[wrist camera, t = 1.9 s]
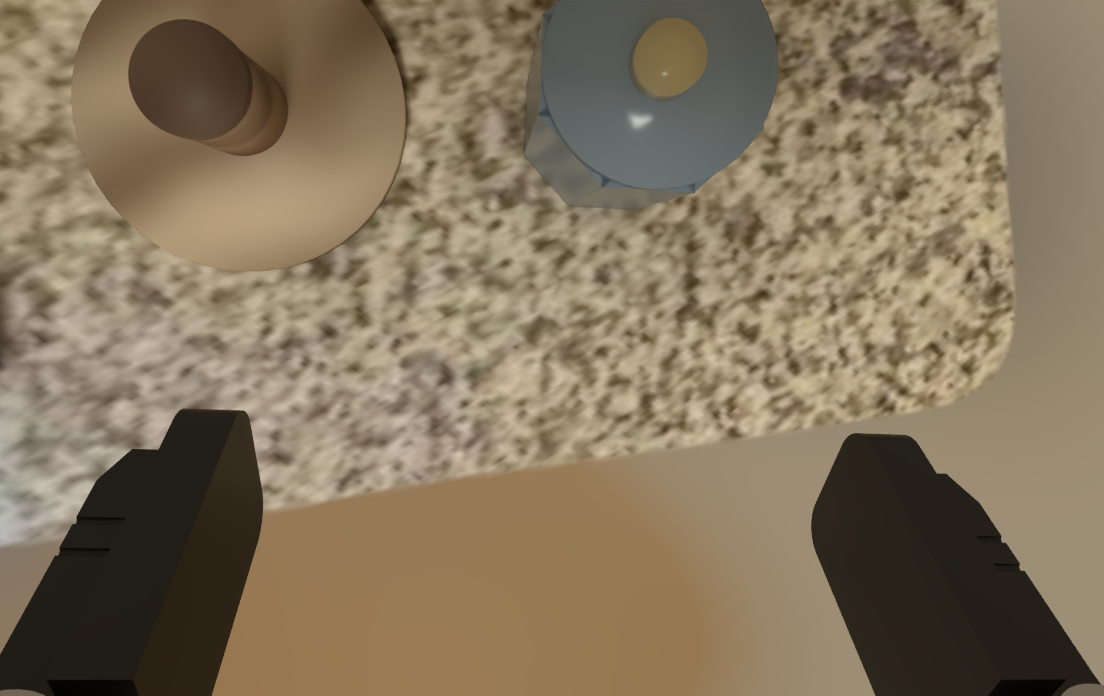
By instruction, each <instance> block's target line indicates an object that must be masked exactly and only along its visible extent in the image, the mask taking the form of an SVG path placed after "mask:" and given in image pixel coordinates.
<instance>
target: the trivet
mask: <svg viewBox="0 0 1104 696" xmlns="http://www.w3.org/2000/svg"><path fill="white" fill-rule="evenodd" d="M177 19H189V20H196V21H199V22H203V23H205V24H208V25H210V26H212V27H214V28H216V29H217V30H219V31H220V32H221V33H223V34H224V35H225V36H226V37H228V38H229V39H230V40H231V41H232V42H233V43H234V44H235V45H236V46H237V47H238V48H239V49H240V50H241V51H242V52H244V53H245V54H246V55H247V56H249V57H250V58H251V59H252V60H254V61H255V62H256V63H257V64H258V65H260V66H261V67H262V68H263V69H265V70H266V71H267V72H268V73H270V74H271V75H272V76H273V77H274V78H275V79H276V81H277V82H278V83H279V85H280V86H281V88H282V90H283V92H284V94H285V97H286V101H287V106H288V118H287V123H286V126H285V129H284V131H283V133H282V135H281V137H280V138H279V140H278V141H277V142H276V143H275V144H274V145H273V146H272V147H270V148H269V149H267V150H266V151H264V152H261V153H259V154H256V155H251V156H236V155H232V154H228V153H225V152H223V151H220V150H217V149H215V148H212V147H209V146H207V145H204V144H201V143H199V142H196V141H193V140H188V139H184V138H181V137H178V136H175V135H172V134H170V133H167V132H165V131H163V130H161V129H160V128H158V127H157V126H155V125H154V124H152V123H151V122H150V121H149V120H148V119H147V118H146V117H145V116H144V115H143V114H142V112H141V111H140V109H139V108H138V106H137V105H136V103H135V101H134V99H133V96H132V94H131V91H130V86H129V79H128V67H129V62H130V58H131V55H132V52H133V50H134V48H135V46H136V44H137V43H138V42H139V40H140V39H141V38H142V37H143V36H144V34H146V33H147V32H148V31H149V30H150V29H152V28H154V27H155V26H157V25H159V24H161V23H164V22H167V21H171V20H177ZM71 101H72V112H73V121H74V126H75V130H76V135H77V139H78V143H79V146H80V149H81V151H82V154H83V157H84V159H85V162H86V165H87V166H88V168H89V170H90V172H91V174H92V176H93V178H94V180H95V182H96V184H97V185H98V187H99V188H100V190H101V191H102V193H103V194H104V195H105V197H106V198H107V200H108V201H109V203H110V204H111V205H112V206H113V207H114V208H115V209H116V210H117V212H118V213H119V214H120V215H121V216H122V217H123V218H124V219H125V220H126V221H127V222H128V223H129V224H130V225H131V226H133V227H134V228H135V229H136V230H137V231H138V232H139V233H140V234H142V235H143V236H145V237H146V238H148V239H149V240H151V241H152V242H153V243H155V244H156V245H158V246H159V247H161V248H163V249H165V250H167V251H169V252H171V253H173V254H175V255H177V256H179V257H181V258H184V259H187V260H189V261H192V262H195V263H197V264H201V265H205V266H209V267H213V268H217V269H223V270H233V271H268V270H275V269H282V268H288V267H292V266H295V265H299V264H302V263H306V262H309V261H311V260H313V259H316V258H318V257H320V256H323V255H325V254H327V253H329V252H330V251H332V250H333V249H335V248H337V247H338V246H340V245H342V244H343V243H345V242H346V241H347V240H348V239H350V238H351V237H352V236H353V235H355V234H356V233H357V232H358V231H359V230H360V229H361V228H362V227H363V226H364V225H365V224H366V223H367V222H368V221H369V220H370V219H371V218H372V216H373V215H374V214H375V212H376V211H377V209H378V208H379V207H380V205H381V204H382V202H383V201H384V200H385V198H386V196H387V194H388V192H389V190H390V188H391V186H392V184H393V182H394V180H395V177H396V174H397V172H398V169H399V166H400V163H401V159H402V154H403V150H404V145H405V137H406V126H407V117H406V100H405V94H404V88H403V82H402V78H401V75H400V72H399V69H398V65H397V62H396V59H395V57H394V55H393V53H392V50H391V48H390V46H389V44H388V41H387V39H386V37H385V35H384V33H383V32H382V30H381V29H380V27H379V25H378V24H377V22H376V20H375V19H374V17H373V15H372V14H371V13H370V12H369V10H368V9H367V8H366V7H365V5H364V4H363V3H362V1H361V0H102V1H101V2H100V4H99V5H98V7H97V8H96V10H95V11H94V13H93V14H92V16H91V18H90V20H89V22H88V24H87V26H86V28H85V30H84V32H83V35H82V38H81V41H80V44H79V47H78V50H77V53H76V58H75V63H74V69H73V75H72V93H71Z"/></svg>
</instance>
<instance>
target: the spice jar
mask: <svg viewBox="0 0 1104 696" xmlns="http://www.w3.org/2000/svg"><path fill="white" fill-rule="evenodd" d="M128 79H129V86H130V91H131V94H132V96H133V99H134V101H135V103H136V105H137V106H138V108H139V109H140V111H141V112H142V114H143V115H144V116H145V117H146V118H147V119H148V120H149V121H150V122H151V123H152V124H154V125H155V126H157V127H158V128H160V129H161V130H163V131H165V132H167V133H170V134H172V135H175V136H178V137H181V138H184V139H188V140H193V141H196V142H199V143H201V144H204V145H207V146H209V147H212V148H215V149H217V150H220V151H223V152H225V153H228V154H232V155H236V156H251V155H256V154H259V153H261V152H264V151H266V150H267V149H269V148H270V147H272V146H273V145H274V144H275V143H276V142H277V141H278V140H279V138H280V137H281V135H282V133H283V131H284V129H285V126H286V123H287V118H288V106H287V101H286V97H285V94H284V92H283V90H282V88H281V86H280V85H279V83H278V82H277V81H276V79H275V78H274V77H273V76H272V75H271V74H270V73H268V72H267V71H266V70H265V69H263V68H262V67H261V66H260V65H258V64H257V63H256V62H255V61H254V60H252V59H251V58H250V57H249V56H247V55H246V54H245V53H244V52H242V51H241V50H240V49H239V48H238V47H237V46H236V45H235V44H234V43H233V42H232V41H231V40H230V39H229V38H228V37H226V36H225V35H224V34H223V33H221V32H220V31H219V30H217V29H216V28H214V27H212V26H210V25H208V24H205V23H203V22H199V21H196V20H189V19H177V20H171V21H167V22H164V23H161V24H159V25H157V26H155V27H154V28H152V29H150V30H149V31H148V32H147V33H146V34H144V36H143V37H142V38H141V39H140V40H139V42H138V43H137V44H136V46H135V48H134V50H133V52H132V55H131V58H130V62H129V67H128Z"/></svg>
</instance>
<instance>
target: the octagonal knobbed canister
mask: <svg viewBox="0 0 1104 696" xmlns="http://www.w3.org/2000/svg"><path fill="white" fill-rule="evenodd" d="M777 76H778V53H777V44H776V39H775V34H774V30H773V26H772V23H771V21H770V18H769V15H768V13H767V10H766V8H765V7H764V5H763V3H762V1H761V0H559V1H558V2H557V3H555V4H554V5H553V6H552V7H551V8H550V9H549V10H548V11H547V12H546V13H545V14H543V16H542V20H541V24H540V29H539V33H538V37H537V42H536V46H535V50H534V55H533V59H532V63H531V67H530V72H529V76H528V80H527V85H526V111H525V135H524V154H523V155H524V156H525V158H526V159H527V160H528V161H529V162H530V163H531V164H532V166H533V167H534V168H535V169H536V170H537V171H538V172H539V173H540V175H541V176H542V177H543V178H544V179H545V180H546V181H547V182H548V184H549V185H550V186H551V187H552V188H553V189H554V190H555V192H556V193H557V194H558V195H559V196H560V197H561V198H562V199H563V201H564V202H565V203H566V204H567V205H568V206H577V207H595V208H614V209H633V210H635V209H638V208H642V207H646V206H649V205H653V204H656V203H660V202H664V201H667V200H671V199H674V198H678V197H682V196H685V195H689V194H692V193H695V191H696V190H698V189H699V188H700V187H701V186H702V185H703V184H704V183H705V182H706V181H707V180H708V179H710V178H711V177H712V176H713V175H714V174H715V173H717V172H719V171H720V170H722V169H724V168H725V167H727V166H728V165H729V164H730V163H732V162H733V161H734V160H735V159H737V158H738V157H739V156H740V155H741V154H742V153H743V152H744V151H745V149H746V148H747V147H748V146H749V145H750V144H751V142H752V141H753V140H754V138H755V137H756V136H757V135H758V134H759V133H760V132H761V131H762V130H763V129H764V128H763V127H764V122H765V120H766V118H767V115H768V113H769V110H770V108H771V105H772V101H773V98H774V94H775V90H776V83H777Z"/></svg>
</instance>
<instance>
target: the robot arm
mask: <svg viewBox="0 0 1104 696" xmlns="http://www.w3.org/2000/svg"><path fill="white" fill-rule="evenodd" d="M262 514H263V494H262V487H261V482H260V476H259V470H258V465H257V459H256V453H255V447H254V442H253V436H252V430H251V425H250V420H249V417H248V415H247V413H246V412H245V411H239V410H209V409H181V410H180V411H179V412H178V413H177V414H176V416H175V417H174V419H173V421H172V423H171V425H170V427H169V429H168V431H167V433H166V436H165V438H164V440H163V442H162V444H161V446H160V448H159V450H149V449H132V450H131V451H130V452H128V453H127V454H126V455H125V456H124V457H123V458H122V459H120V460H119V461H118V462H117V463H116V464H115V465H114V466H112V467H111V468H110V469H109V470H108V471H107V472H106V473H104V474H103V475H102V476H101V477H100V478H99V479H98V480H97V481H96V483H95V484H94V486H93V488H92V490H91V492H90V493H89V495H88V497H87V499H86V501H85V502H84V504H83V506H82V508H81V510H80V512H79V513H78V515H77V522H76V524H72V526H71V528H70V530H69V531H68V533H67V535H66V537H65V539H64V540H63V542H62V544H61V546H60V552H59V555H58V556H55V557H54V558H53V560H52V562H51V564H50V566H49V568H48V569H47V571H46V573H45V575H44V577H43V578H42V580H41V582H40V584H39V586H38V587H37V589H36V591H35V593H34V595H33V596H32V598H31V600H30V602H29V604H28V605H27V607H26V609H25V611H24V613H23V615H22V616H21V618H20V620H19V622H18V624H17V626H16V627H15V629H14V631H13V633H12V634H11V636H10V638H9V640H8V642H7V644H6V645H5V647H4V649H3V651H2V652H1V654H0V696H212V692H213V689H214V686H215V682H216V679H217V676H218V672H219V669H220V666H221V663H222V659H223V656H224V653H225V649H226V646H227V643H228V639H229V636H230V633H231V629H232V626H233V623H234V619H235V616H236V613H237V610H238V606H239V603H240V600H241V596H242V593H243V589H244V586H245V583H246V579H247V576H248V573H249V570H250V566H251V563H252V559H253V556H254V553H255V549H256V546H257V543H258V539H259V535H260V530H261V524H262ZM811 531H812V539H813V544H814V548H815V551H816V554H817V556H818V558H819V561H820V563H821V566H822V568H823V571H824V573H825V575H826V578H827V580H828V582H829V585H830V587H831V590H832V592H833V595H834V597H835V599H836V602H837V604H838V607H839V609H840V611H841V614H842V616H843V619H844V621H845V623H846V626H847V628H848V631H849V633H850V636H851V638H852V640H853V643H854V645H855V648H856V650H857V652H858V655H859V657H860V660H861V662H862V664H863V667H864V669H865V671H866V674H867V676H868V679H869V681H870V684H871V686H872V688H873V691H874V693H875V696H1104V686H1103V685H1101V684H1100V682H1099V681H1098V680H1097V678H1096V677H1095V676H1094V674H1093V673H1092V671H1091V670H1090V668H1089V667H1088V666H1087V664H1086V662H1085V661H1084V659H1083V658H1082V656H1081V655H1080V653H1079V652H1078V651H1077V649H1076V647H1075V646H1074V645H1073V643H1072V642H1071V640H1070V638H1069V637H1068V635H1067V634H1066V632H1065V631H1064V630H1063V628H1062V626H1061V625H1060V623H1059V622H1058V620H1057V619H1056V618H1055V616H1054V614H1053V613H1052V611H1051V610H1050V608H1049V607H1048V605H1047V604H1046V602H1045V601H1044V599H1043V598H1042V596H1041V595H1040V593H1039V592H1038V590H1037V589H1036V587H1035V586H1034V584H1033V583H1032V581H1031V580H1030V578H1029V577H1028V575H1027V574H1026V572H1025V571H1021V570H1020V569H1019V565H1020V563H1019V562H1018V560H1017V559H1016V557H1015V556H1014V554H1013V553H1012V551H1011V550H1010V548H1009V547H1008V545H1007V544H1006V543H1002V542H1001V535H1000V533H999V532H998V530H997V529H996V527H995V526H994V524H993V523H992V521H991V520H990V518H989V517H988V515H987V514H986V512H985V511H984V509H983V508H982V506H981V505H980V503H979V502H978V501H976V500H975V499H974V498H973V497H972V496H971V495H970V494H969V493H967V492H966V491H965V490H964V489H963V488H962V487H961V486H959V485H958V484H957V483H956V482H955V481H954V480H952V479H951V478H950V477H949V476H948V475H947V474H937V473H936V472H935V470H934V469H933V467H932V465H931V464H930V462H929V461H928V459H927V458H926V456H925V454H924V453H923V451H922V450H921V448H920V446H919V445H918V444H917V442H916V441H915V440H914V439H913V438H911V437H910V436H907V435H891V434H862V433H854V434H851V435H849V436H848V437H847V438H846V439H845V441H844V442H843V444H842V446H841V449H840V451H839V453H838V455H837V458H836V460H835V462H834V464H833V466H832V469H831V471H830V473H829V475H828V477H827V479H826V482H825V484H824V486H823V488H822V491H821V493H820V495H819V497H818V499H817V501H816V504H815V506H814V510H813V513H812V522H811Z"/></svg>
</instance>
